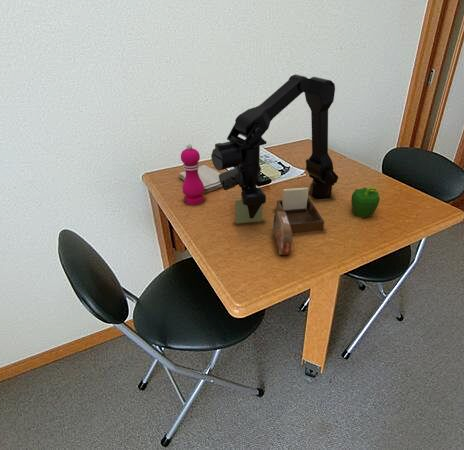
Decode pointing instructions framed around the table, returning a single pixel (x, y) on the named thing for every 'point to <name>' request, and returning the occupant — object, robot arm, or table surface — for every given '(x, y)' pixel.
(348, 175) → the table surface
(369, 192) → the bell pepper
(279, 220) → the tin
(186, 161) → the pepper mill
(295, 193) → the cream coaster
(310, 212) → the coaster holder
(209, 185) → the washcloth
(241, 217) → the sage coaster
